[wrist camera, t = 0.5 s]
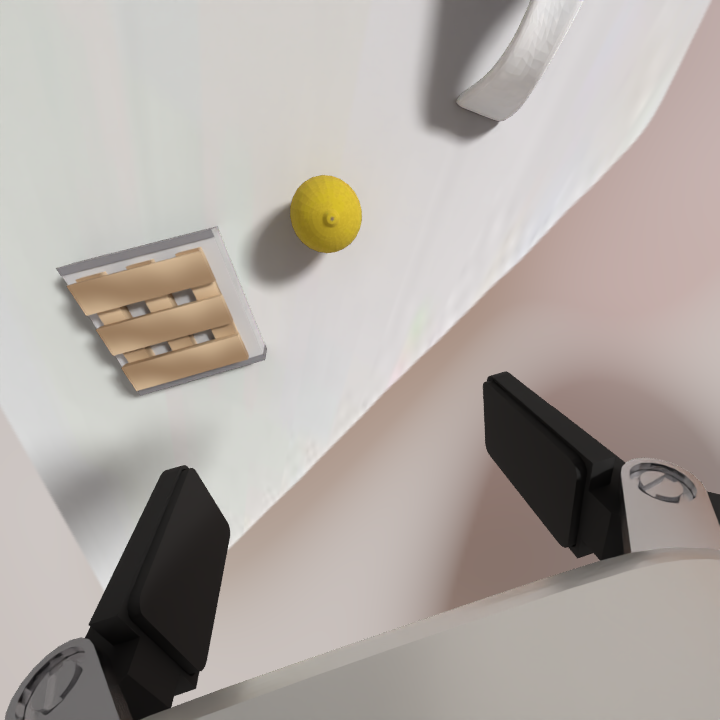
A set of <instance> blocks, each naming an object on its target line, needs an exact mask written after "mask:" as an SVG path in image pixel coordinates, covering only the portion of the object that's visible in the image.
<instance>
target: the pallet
mask: <svg viewBox="0 0 720 720" xmlns="http://www.w3.org/2000/svg"><path fill="white" fill-rule="evenodd" d="M175 256H176V257H174V258H170V259H166V260H162V261H158V262H155V260H154V259H151V260H147V261H143V262H139V263H135V264H132V265H129V266H127V267H126V269H127V270H123V271H119V272H116V273H112V274H107V273H106V271H104V272H101V273H97V274H93V275H89V276H85V277H82V278H79V279H76V280H75V281H76V282H77V283H73V284H71V285H68V286H67V288H68V289H69V291H70V292H71V294H72V295H73V297H74V298H75V300H76V301H77V303H78V304H79V306H80V307H81V309H82V310H83V312H84V313H85V315H86V316H88V315H92V314H95V313H97V315H98V316H99V318H100V319H101V321H102V322H103V324H104V326H100V327H99V328H98V329H96V331H97V333H98V334H99V336H100V337H101V339H102V340H103V342H104V343H105V345H106V346H107V348H108V349H109V351H110V352H111V354H112V355H113V356H114V355H118V354H122V353H123V355H124V356H125V358H126V359H127V361H128V362H129V363H127V364H125V365H124V366H123V367H122V368H121V369H122V370H123V372H124V373H125V375H126V376H127V378H128V379H129V381H130V382H131V384H132V385H133V387H134V388H135V390H136V391H139V390H142V389H146V388H149V387H153V386H156V385H160V384H163V383H167V382H170V381H174V380H177V379H181V378H184V377H188V376H191V375H195V374H198V373H202V372H206V371H209V370H213V369H216V368H220V367H223V366H227V365H230V364H234V363H237V362H241V361H244V360H248V358H249V354H248V352H247V350H246V347H245V345H244V343H243V341H242V338H241V336H240V334H239V332H238V330H237V328H236V325H235V323H234V321H233V318H232V315H231V313H230V311H229V309H228V306H227V304H226V302H225V299H224V297H223V295H222V293H221V291H220V289H219V287H218V284H217V282H216V279H215V277H214V274H213V272H212V270H211V267H210V265H209V263H208V261H207V258H206V256H205V254H204V251H203V250H202V248H201V247H197V248H193V249H190V250H186V251H182V252H178V253H176V254H175ZM189 288H191V289H192V291H193V293H194V295H195V297H196V299H197V301H193V302H189V303H185V304H182V305H177V303H176V301H175V299H174V297H173V295H172V293H174V292H178V291H182V290H186V289H189ZM140 301H145V303H146V304H147V306H148V308H149V310H150V312H151V313H148V314H145V315H141V316H137V317H133V316H132V315H131V313H130V311H129V310H128V308H127V306H126V305H129V304H133V303H137V302H140ZM209 329H211V331H212V333H213V335H214V337H215V339H213V340H209V341H206V342H202V343H199V344H197V342H196V340H195V338H194V336H193V334H194V333H198V332H201V331H205V330H209ZM165 341H167V342H168V344H169V345H170V347H171V349H172V351H170V352H166V353H163V354H159V355H155V353H154V352H153V350H152V348H151V347H150V346H151V345H154V344H158V343H162V342H165Z"/></svg>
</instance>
